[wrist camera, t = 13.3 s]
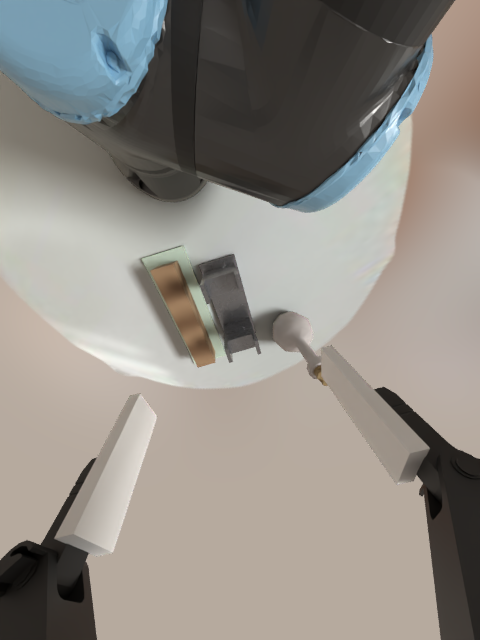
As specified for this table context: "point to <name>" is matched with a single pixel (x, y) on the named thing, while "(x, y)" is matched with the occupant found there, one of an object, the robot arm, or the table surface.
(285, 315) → the potion bottle
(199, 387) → the table surface
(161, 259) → the mat
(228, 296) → the rack
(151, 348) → the table surface
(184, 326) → the rail
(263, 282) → the table surface
